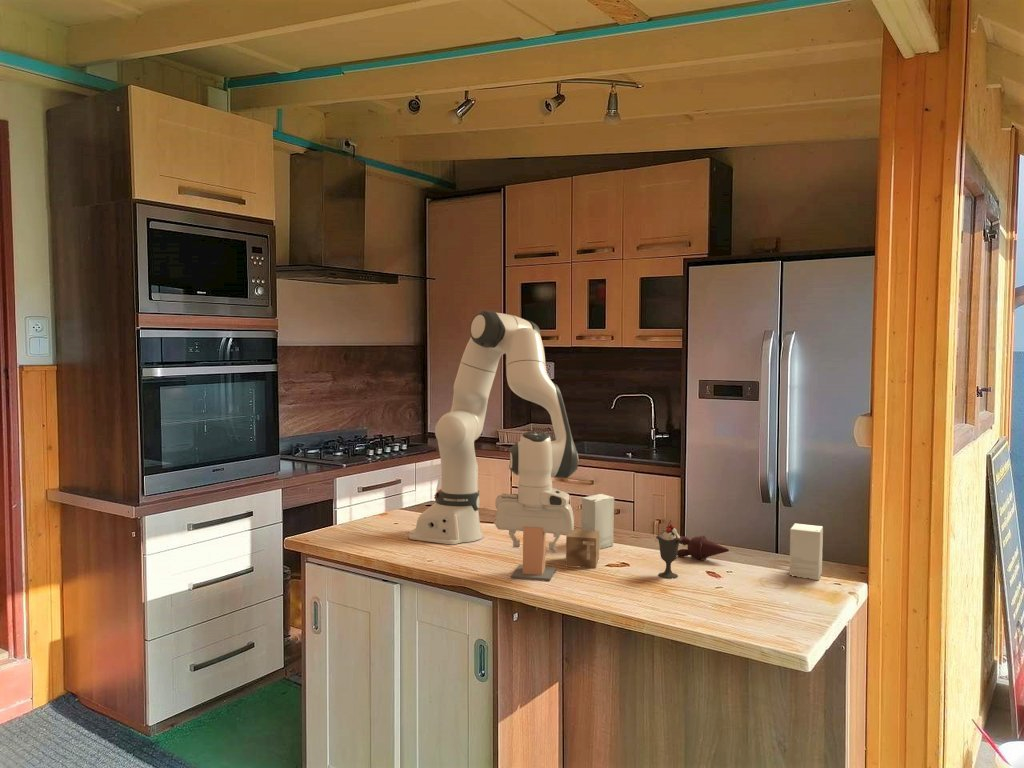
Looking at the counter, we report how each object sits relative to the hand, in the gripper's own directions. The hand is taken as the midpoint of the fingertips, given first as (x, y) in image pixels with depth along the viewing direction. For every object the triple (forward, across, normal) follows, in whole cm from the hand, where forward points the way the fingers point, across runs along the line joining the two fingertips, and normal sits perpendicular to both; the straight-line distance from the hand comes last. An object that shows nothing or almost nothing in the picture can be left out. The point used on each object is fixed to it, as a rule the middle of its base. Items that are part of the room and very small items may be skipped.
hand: (534, 548), depth 204 cm
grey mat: (+7, 0, 0) cm, 7 cm away
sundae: (+7, +34, +7) cm, 35 cm away
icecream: (+7, +43, +25) cm, 50 cm away
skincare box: (+7, +13, +31) cm, 34 cm away
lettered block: (+7, +11, +13) cm, 18 cm away
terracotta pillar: (+6, 0, 0) cm, 6 cm away
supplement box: (+7, +69, +17) cm, 71 cm away
